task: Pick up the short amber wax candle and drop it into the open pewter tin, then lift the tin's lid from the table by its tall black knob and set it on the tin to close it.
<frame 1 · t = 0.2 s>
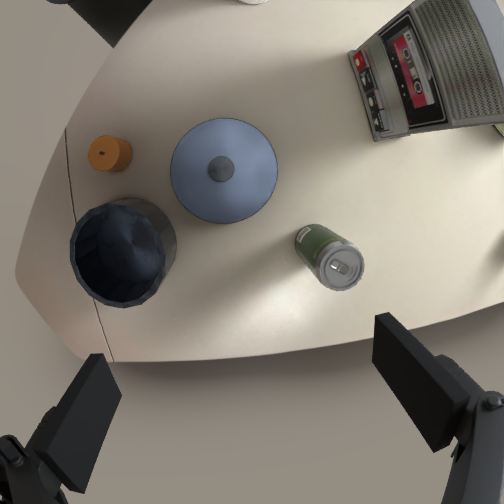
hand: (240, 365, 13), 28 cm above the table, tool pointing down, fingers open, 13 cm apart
beer can: (312, 241, 41), on the table
tin lid: (223, 170, 37), point 1 cm above the table
cassette tape recorder: (376, 94, 36), on the table
candle: (117, 155, 36), on the table
air freshener: (498, 114, 38), on the table
tin: (133, 243, 40), on the table
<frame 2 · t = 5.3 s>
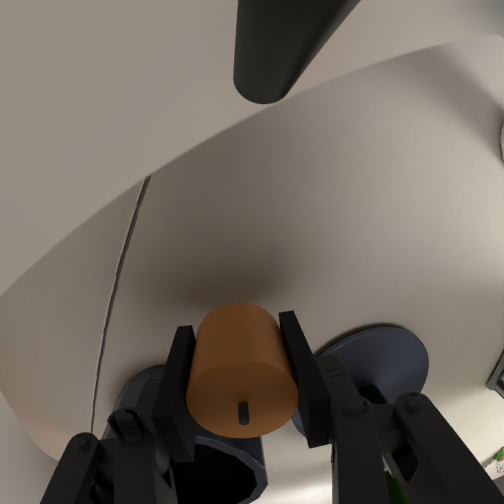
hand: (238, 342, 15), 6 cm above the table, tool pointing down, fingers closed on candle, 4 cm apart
beer can: (378, 459, 28), on the table
tin lid: (363, 391, 24), point 1 cm above the table
geometric puzzle: (501, 450, 36), on the table
candle: (239, 340, 15), point 6 cm above the table, touching gripper
tin: (187, 417, 24), on the table
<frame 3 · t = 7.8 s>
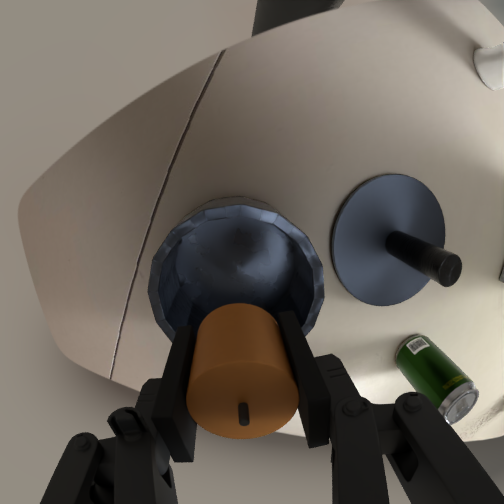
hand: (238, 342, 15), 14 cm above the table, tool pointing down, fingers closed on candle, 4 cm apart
beer can: (410, 350, 33), on the table
tin lid: (393, 241, 28), point 1 cm above the table
candle: (239, 340, 15), point 13 cm above the table, touching gripper
beer glass: (486, 69, 24), on the table
tin: (235, 264, 28), on the table
when the fingers open (3 cm above the table, at t = 11.3 s): candle stays where it is, resting on tin.
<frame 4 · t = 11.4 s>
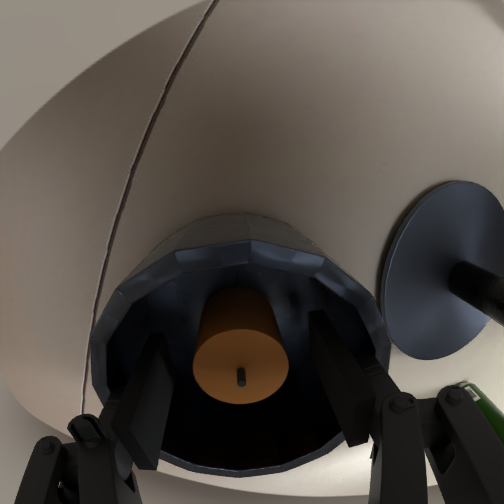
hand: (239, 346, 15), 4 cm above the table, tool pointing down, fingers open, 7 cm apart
beer can: (452, 399, 23), on the table
tin lid: (456, 275, 18), point 1 cm above the table
candle: (237, 321, 18), resting on tin
tin: (237, 316, 18), on the table
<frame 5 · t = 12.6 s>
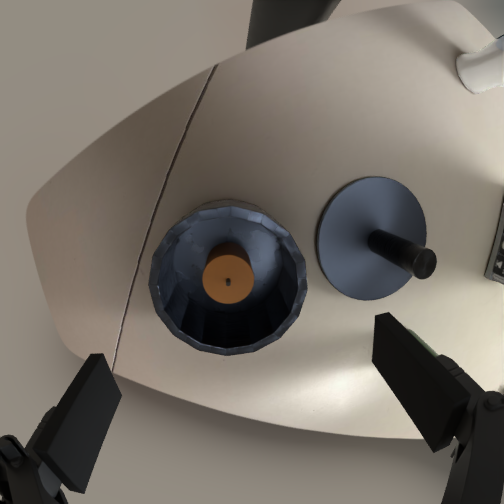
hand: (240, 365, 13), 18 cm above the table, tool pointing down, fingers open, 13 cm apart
tin lid: (375, 239, 31), point 1 cm above the table
cassette tape recorder: (503, 235, 33), on the table
candle: (228, 263, 30), resting on tin
beer glass: (469, 74, 27), on the table
tin: (228, 261, 31), on the table
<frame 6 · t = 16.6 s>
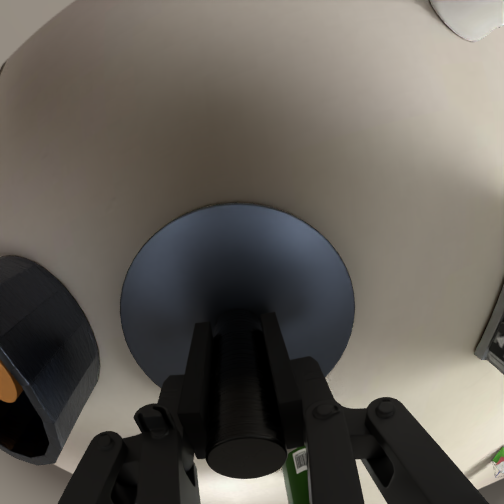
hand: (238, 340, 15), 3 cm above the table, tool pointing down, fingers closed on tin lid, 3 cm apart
beer can: (309, 451, 22), on the table
tin lid: (237, 323, 17), point 1 cm above the table, touching gripper
geometric puzzle: (500, 450, 30), on the table
candle: (26, 339, 17), resting on tin
beer glass: (454, 10, 13), on the table
tin: (29, 336, 17), on the table
when the fingers open (9 cm above the table, at t = 23.2 s): tin lid stays where it is, resting on tin.
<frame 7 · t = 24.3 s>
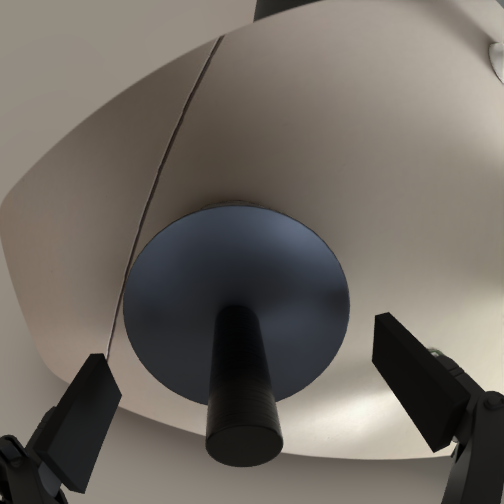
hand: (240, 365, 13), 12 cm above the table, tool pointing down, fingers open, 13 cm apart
tin lid: (236, 320, 18), point 7 cm above the table, touching tin
beer glass: (501, 65, 21), on the table
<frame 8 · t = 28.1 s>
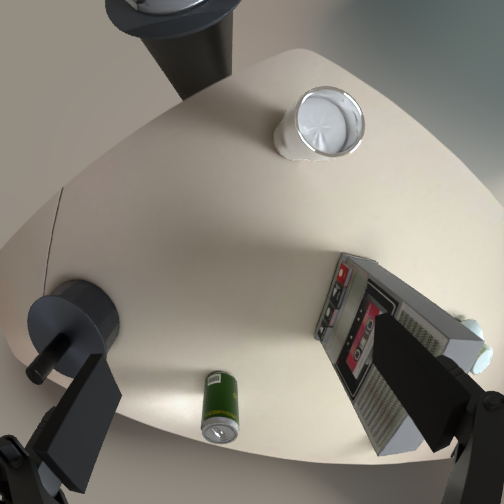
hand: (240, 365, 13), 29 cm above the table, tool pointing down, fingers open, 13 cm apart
beer can: (221, 381, 47), on the table
tin lid: (65, 338, 35), point 7 cm above the table, touching tin
cassette tape recorder: (343, 298, 44), on the table
air freshener: (454, 337, 49), on the table
beer glass: (295, 139, 38), on the table
tin: (85, 316, 42), on the table
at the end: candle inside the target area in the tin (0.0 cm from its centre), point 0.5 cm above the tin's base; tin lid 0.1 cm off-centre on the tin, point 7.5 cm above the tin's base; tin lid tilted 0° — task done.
